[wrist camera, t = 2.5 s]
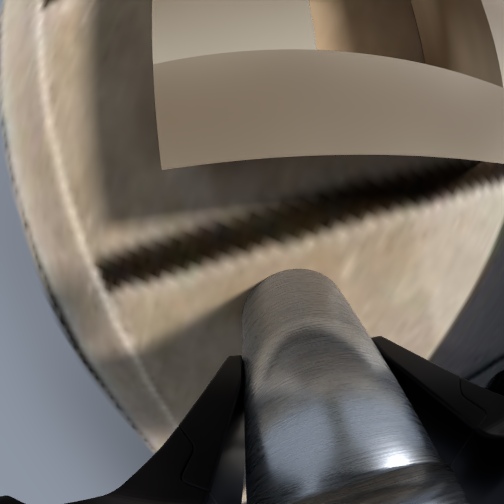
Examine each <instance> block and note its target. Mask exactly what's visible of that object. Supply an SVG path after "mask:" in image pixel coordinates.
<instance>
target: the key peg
mask: <svg viewBox="0 0 504 504" xmlns="http://www.w3.org/2000/svg"><path fill="white" fill-rule="evenodd" d="M242 345H243V392H244V431H245V465H246V494H247V504H470V503H469V501H468V499H467V497H466V495H465V493H464V491H463V489H462V487H461V485H460V483H459V481H458V479H457V477H456V475H455V473H454V471H453V469H452V467H451V466H450V465H449V464H447V463H443V462H442V460H441V458H440V456H439V454H438V452H437V450H436V448H435V447H434V445H433V443H432V441H431V439H430V437H429V435H428V434H427V432H426V430H425V428H424V426H423V425H422V423H421V421H420V419H419V418H418V416H417V414H416V412H415V410H414V409H413V407H412V405H411V404H410V402H409V400H408V398H407V397H406V395H405V393H404V391H403V390H402V388H401V386H400V385H399V383H398V381H397V380H396V378H395V376H394V375H393V373H392V371H391V370H390V368H389V366H388V365H387V363H386V362H385V360H384V358H383V357H382V355H381V353H380V352H379V350H378V349H377V347H376V345H375V344H374V342H373V341H372V339H371V337H370V336H369V334H368V333H367V331H366V330H365V328H364V326H363V325H362V323H361V322H360V320H359V319H358V317H357V316H356V314H355V313H354V311H353V309H352V308H351V306H350V305H349V303H348V302H347V300H346V299H345V297H344V296H343V294H342V293H341V291H340V290H339V288H338V287H337V286H336V284H335V283H334V282H333V281H332V280H331V279H329V278H328V277H326V276H325V275H323V274H321V273H318V272H315V271H312V270H306V269H292V270H286V271H282V272H279V273H276V274H274V275H272V276H270V277H268V278H266V279H265V280H264V281H262V282H261V283H260V284H258V285H257V286H256V287H255V288H254V290H253V291H252V292H251V293H250V295H249V296H248V298H247V300H246V302H245V305H244V308H243V313H242Z"/></svg>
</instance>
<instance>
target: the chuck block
mask: <svg viewBox="0 0 504 504" xmlns="http://www.w3.org/2000/svg"><path fill="white" fill-rule="evenodd" d="M410 1H411V4H412V7H413V11H414V15H415V18H416V22H417V26H418V31H419V35H420V39H421V44H422V49H423V54H424V59H425V64H423V63H418V62H414V61H409V60H403V59H398V58H392V57H386V56H379V55H371V54H363V53H354V52H343V51H329V50H317V47H316V40H315V33H314V27H313V21H312V15H311V10H310V4H309V0H152V54H153V78H154V95H155V109H156V121H157V132H158V142H159V152H160V161H161V169H162V170H167V169H173V168H180V167H188V166H195V165H203V164H211V163H220V162H230V161H240V160H251V159H263V158H277V157H294V156H316V155H407V156H428V157H443V158H456V159H467V160H477V161H486V162H494V163H502V164H504V0H410Z"/></svg>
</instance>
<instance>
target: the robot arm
mask: <svg viewBox="0 0 504 504" xmlns="http://www.w3.org/2000/svg"><path fill="white" fill-rule="evenodd" d="M371 339H372V341H373V342H374V344H375V345H376V347H377V349H378V350H379V352H380V353H381V355H382V357H383V358H384V360H385V362H386V363H387V365H388V366H389V368H390V370H391V371H392V373H393V375H394V376H395V378H396V380H397V381H398V383H399V385H400V386H401V388H402V390H403V391H404V393H405V395H406V397H407V398H408V400H409V402H410V404H411V405H412V407H413V409H414V410H415V412H416V414H417V416H418V418H419V419H420V421H421V423H422V425H423V426H424V428H425V430H426V432H427V434H428V435H429V437H430V439H431V441H432V443H433V445H434V447H435V448H436V450H437V452H438V454H439V456H440V458H441V460H442V462H443V463H447V464H449V465H450V466H451V467H452V469H453V471H454V473H455V475H456V477H457V479H458V481H459V483H460V485H461V487H462V489H463V491H464V493H465V495H466V497H467V499H468V501H469V503H470V504H504V372H503V373H501V374H500V375H499V376H498V377H497V379H496V380H495V382H494V384H493V386H492V388H491V390H487V389H485V388H482V387H480V386H478V385H476V384H474V383H472V382H470V381H468V380H466V379H464V378H462V377H459V376H458V375H456V374H454V373H452V372H450V371H448V370H446V369H444V368H442V367H440V366H438V365H436V364H434V363H432V362H430V361H428V360H426V359H424V358H422V357H420V356H418V355H417V354H415V353H413V352H411V351H409V350H407V349H405V348H403V347H401V346H399V345H397V344H395V343H393V342H391V341H390V340H388V339H386V338H384V337H382V336H377V337H372V338H371ZM244 467H245V431H244V392H243V358H242V356H240V355H239V356H229V357H228V358H227V359H226V361H225V362H224V364H223V365H222V367H221V368H220V369H219V371H218V372H217V374H216V375H215V376H214V378H213V379H212V381H211V382H210V383H209V385H208V386H207V388H206V389H205V390H204V392H203V393H202V394H201V396H200V397H199V399H198V400H197V401H196V403H195V404H194V405H193V407H192V408H191V410H190V411H189V412H188V414H187V415H186V416H185V418H184V419H183V420H182V422H181V423H180V424H179V427H177V428H176V429H175V431H174V432H173V433H172V435H171V436H170V437H169V438H168V440H167V441H166V442H165V443H164V445H163V446H162V447H161V448H160V449H159V450H158V451H157V452H156V453H155V454H154V455H153V456H152V458H150V459H149V460H148V462H147V463H145V464H144V465H143V466H142V467H141V468H140V469H139V470H138V471H137V472H136V473H135V474H134V475H133V476H132V477H131V478H129V479H128V480H127V481H126V482H125V483H124V484H123V485H122V486H121V487H119V488H118V489H116V490H115V491H113V492H111V493H109V494H107V495H104V496H100V497H96V498H91V499H87V500H82V501H77V502H72V503H66V504H241V502H242V491H243V479H244ZM0 504H25V503H22V502H20V501H18V500H16V499H14V498H12V497H10V496H1V497H0Z"/></svg>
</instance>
